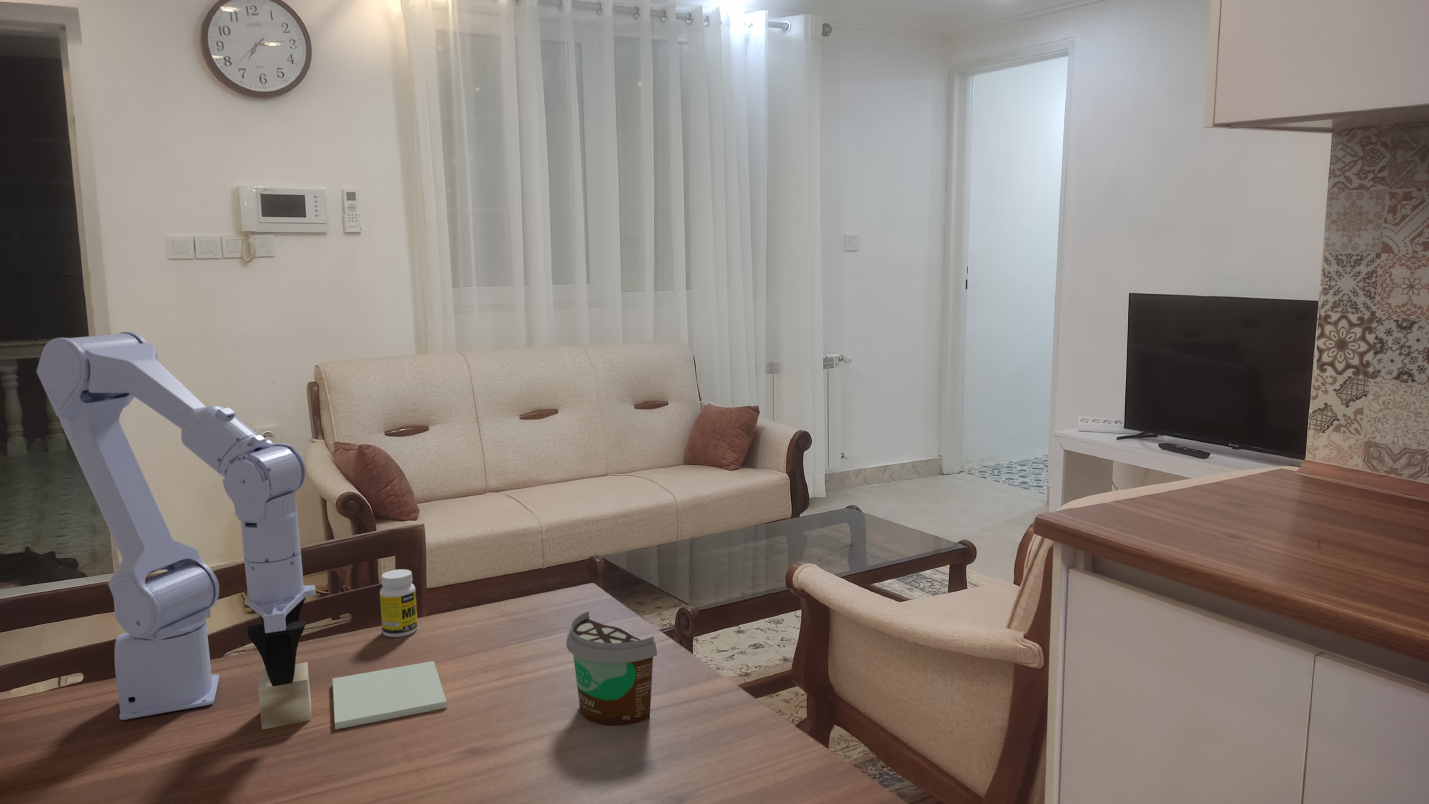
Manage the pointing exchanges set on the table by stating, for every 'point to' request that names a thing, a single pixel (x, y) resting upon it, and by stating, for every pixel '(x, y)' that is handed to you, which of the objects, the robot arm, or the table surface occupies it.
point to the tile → (387, 694)
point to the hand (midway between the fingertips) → (283, 669)
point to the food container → (611, 672)
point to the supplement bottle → (398, 603)
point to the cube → (285, 699)
